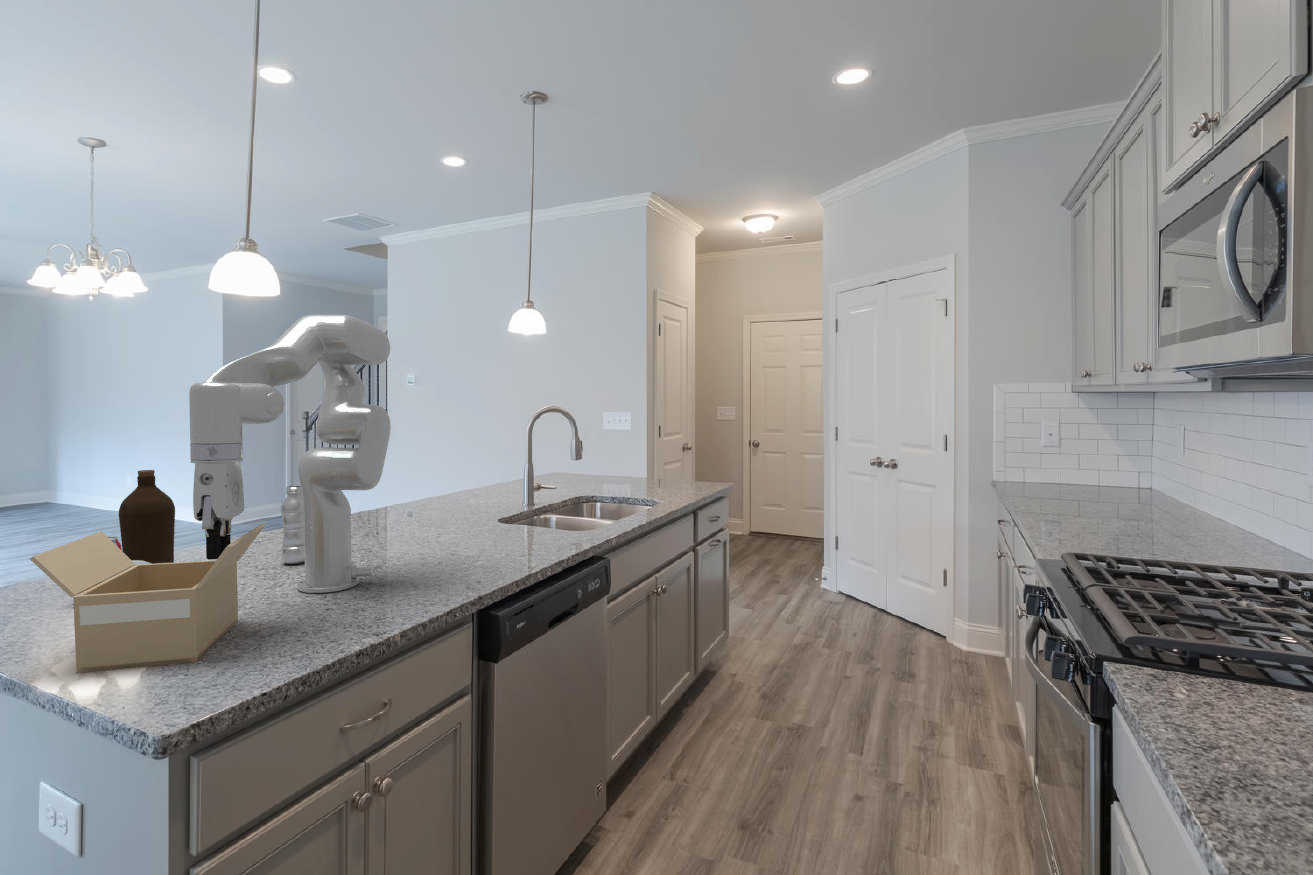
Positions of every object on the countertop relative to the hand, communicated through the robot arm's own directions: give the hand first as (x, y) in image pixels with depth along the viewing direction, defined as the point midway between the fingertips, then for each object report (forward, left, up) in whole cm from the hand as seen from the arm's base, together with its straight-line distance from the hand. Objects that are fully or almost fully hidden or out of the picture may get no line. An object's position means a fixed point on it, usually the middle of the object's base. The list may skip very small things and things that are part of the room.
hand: (218, 557), depth 112 cm
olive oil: (+31, -53, -15) cm, 64 cm away
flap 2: (-2, 0, +1) cm, 2 cm away
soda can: (+31, -31, -15) cm, 47 cm away
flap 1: (+19, 0, +1) cm, 19 cm away
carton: (+8, 0, -15) cm, 17 cm away
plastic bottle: (0, -55, -15) cm, 57 cm away
